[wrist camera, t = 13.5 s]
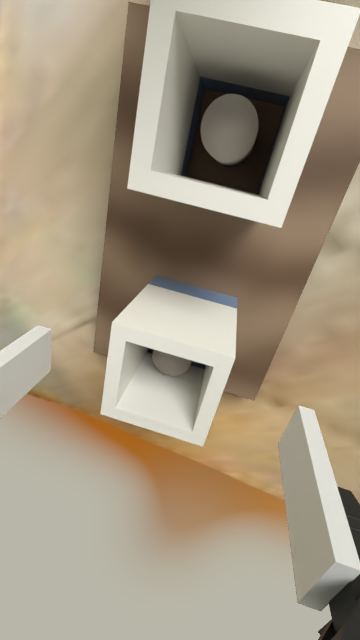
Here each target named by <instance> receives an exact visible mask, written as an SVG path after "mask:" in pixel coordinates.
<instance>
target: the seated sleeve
mask: <svg viewBox="0 0 360 640" xmlns="http://www.w3.org/2000/svg"><path fill="white" fill-rule="evenodd" d="M359 15H360V8H356V7H351V6H346V5H341V4H336V3H331V2H326V1H320V0H151V3H150V11H149V18H148V26H147V34H146V42H145V50H144V58H143V66H142V74H141V82H140V90H139V98H138V106H137V114H136V122H135V130H134V138H133V146H132V154H131V162H130V170H129V178H128V186H127V189H131V190H135V191H139V192H143V193H147V194H151V195H154V196H158V197H162V198H166V199H170V200H174V201H178V202H182V203H186V204H190V205H194V206H197V207H201V208H205V209H209V210H213V211H217V212H221V213H225V214H229V215H233V216H236V217H240V218H244V219H248V220H252V221H256V222H260V223H264V224H268V225H272V226H276V227H279V228H282V225H283V222H284V219H285V217H286V214H287V211H288V208H289V206H290V203H291V200H292V198H293V195H294V192H295V189H296V187H297V184H298V181H299V178H300V176H301V173H302V170H303V168H304V165H305V162H306V159H307V157H308V154H309V151H310V148H311V146H312V143H313V140H314V138H315V135H316V132H317V129H318V127H319V124H320V121H321V118H322V116H323V113H324V110H325V108H326V105H327V102H328V99H329V97H330V94H331V91H332V88H333V86H334V83H335V80H336V78H337V75H338V72H339V69H340V67H341V64H342V61H343V58H344V56H345V53H346V50H347V48H348V45H349V42H350V39H351V37H352V34H353V31H354V28H355V26H356V23H357V20H358V18H359ZM205 89H209V90H214V91H218V92H223V93H227V94H239V95H242V96H244V97H245V98H249V99H254V100H258V101H263V102H267V103H272V104H276V105H281V106H284V109H283V112H282V116H281V119H280V122H279V125H278V128H277V132H276V135H275V138H274V141H273V144H272V148H271V151H270V154H269V157H268V160H267V164H266V167H265V170H264V173H263V176H262V179H261V183H260V186H259V189H258V192H257V194H256V193H252V192H248V191H244V190H240V189H236V188H232V187H228V186H224V185H220V184H216V183H212V182H208V181H204V180H200V179H196V178H192V177H188V176H187V173H188V168H189V163H190V159H191V154H192V149H193V144H194V139H195V134H196V130H197V125H198V120H199V115H200V110H201V105H202V101H203V96H204V91H205Z"/></svg>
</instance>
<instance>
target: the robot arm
mask: <svg viewBox="0 0 360 640" xmlns="http://www.w3.org/2000/svg"><path fill="white" fill-rule="evenodd" d="M50 371H51V329H49V328H46V327H43V326H39V325H37V326H36V327H35V328H33V329H32V330H30V331H29V332H27V333H26V334H24V335H23V336H21V337H20V338H18V339H17V340H15V341H14V342H13V343H11V344H10V345H8V346H7V347H5V348H4V349H2V350H1V351H0V419H1V418H2V417H3V416H4V415H5V414H6V413H7V412H8V411H9V410H10V409H11V408H12V407H13V406H14V405H15V404H16V403H17V402H18V401H19V400H20V399H21V398H22V397H24V396H25V395H26V394H27V393H28V392H29V391H30V390H31V389H32V388H33V387H34V386H35V385H36V384H37V383H38V382H39V381H40V380H41V379H42V378H43V377H44V376H45V375H47V374H48V373H49V372H50ZM278 448H279V456H280V464H281V472H282V481H283V489H284V497H285V505H286V513H287V521H288V529H289V537H290V546H291V554H292V561H293V570H294V578H295V586H296V594H297V602H298V603H299V604H302V605H305V606H308V607H310V608H313V609H316V610H318V611H322V610H323V609H324V608H325V607H326V606H327V605H328V604H329V606H330V611H331V616H332V620H330V621H329V622H328V623H327V624H326V625H325V626H324V627H323V628H322V629H320V630H319V631H318V633H320V635H321V636H320V637H319V639H318V640H360V504H359V503H358V501H357V500H356V498H355V497H354V495H353V494H352V492H351V491H349V490H346V489H343V488H340V487H337V484H336V481H335V478H334V474H333V471H332V468H331V464H330V461H329V458H328V454H327V451H326V448H325V444H324V441H323V438H322V434H321V431H320V428H319V424H318V421H317V418H316V414H315V411H314V410H312V409H309V408H306V407H302V406H299V405H298V407H297V409H296V411H295V413H294V415H293V417H292V418H291V420H290V422H289V424H288V426H287V428H286V429H285V431H284V433H283V435H282V437H281V439H280V441H279V442H278Z"/></svg>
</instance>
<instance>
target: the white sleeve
mask: <svg viewBox="0 0 360 640" xmlns="http://www.w3.org/2000/svg"><path fill="white" fill-rule="evenodd" d="M237 299H238V298H236V297H233V296H229V295H225V294H222V293H218V292H214V291H211V290H207V289H203V288H200V287H196V286H193V285H189V284H185V283H182V282H178V281H174V280H171V279H167V278H163V277H160V276H155V277H154V278H153V279H152V280H151V281H150V282H149V284H148V285H147V286H146V287H145V288H144V289H143V290H142V291H141V292H140V293H139V294H138V295H137V296H136V297H135V298H134V299H133V300H132V302H131V303H130V304H129V305H128V306H127V307H126V308H125V309H124V310H123V311H122V312H121V313H120V314H119V315H118V316H117V317H116V318H115V320H114V321H113V322H112V326H111V334H110V342H109V350H108V358H107V366H106V374H105V382H104V390H103V398H102V406H101V415H105V416H108V417H111V418H114V419H117V420H120V421H123V422H127V423H130V424H133V425H136V426H139V427H142V428H146V429H149V430H152V431H155V432H158V433H161V434H164V435H168V436H171V437H174V438H177V439H180V440H183V441H187V442H190V443H193V444H196V445H199V446H202V447H203V445H204V442H205V440H206V437H207V434H208V432H209V429H210V426H211V423H212V421H213V418H214V415H215V412H216V410H217V407H218V404H219V402H220V399H221V396H222V393H223V391H224V388H225V385H226V382H227V380H228V377H229V374H230V372H231V369H232V366H233V363H234V361H235V355H236V327H237ZM154 350H158V351H161V352H164V353H168V354H171V355H175V356H178V357H181V358H185V359H188V360H192V361H191V365H190V367H189V369H188V370H187V371H186V372H185V373H183V374H181V375H177V376H171V375H167V374H164V373H162V372H161V371H160V370H158V369H157V368H156V366H155V365H154V363H153V359H152V354H153V351H154Z"/></svg>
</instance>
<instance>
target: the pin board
mask: <svg viewBox="0 0 360 640" xmlns="http://www.w3.org/2000/svg"><path fill="white" fill-rule="evenodd" d="M149 11H150V6H146V5H141V4H136V3H132V2H129V5H128V15H127V25H126V35H125V45H124V55H123V65H122V75H121V85H120V95H119V104H118V114H117V124H116V134H115V144H114V154H113V164H112V174H111V184H110V194H109V204H108V214H107V223H106V233H105V243H104V253H103V263H102V273H101V283H100V293H99V303H98V313H97V323H96V332H95V342H94V352H95V353H99V354H102V355H105V356H108V350H109V342H110V334H111V326H112V322H113V321H114V320H115V318H116V317H117V316H118V315H119V314H120V313H121V312H122V311H123V310H124V309H125V308H126V307H127V306H128V305H129V304H130V303H131V302H132V300H133V299H134V298H135V297H136V296H137V295H138V294H139V293H140V292H141V291H142V290H143V289H144V288H145V287H146V286H147V285H148V284H149V282H150V281H151V280H152V279H153V278H154V277H155V276H160V277H163V278H167V279H171V280H174V281H178V282H182V283H185V284H189V285H193V286H196V287H200V288H203V289H207V290H211V291H214V292H218V293H222V294H225V295H229V296H233V297H236V298H238V299H237V327H236V355H235V361H234V363H233V366H232V369H231V372H230V374H229V377H228V380H227V382H226V385H225V388H224V392H227V393H231V394H234V395H237V396H241V397H244V398H247V399H250V400H255V398H256V395H257V393H258V391H259V389H260V386H261V384H262V382H263V380H264V377H265V375H266V373H267V370H268V368H269V366H270V364H271V361H272V359H273V357H274V355H275V352H276V350H277V348H278V346H279V343H280V341H281V339H282V336H283V334H284V332H285V330H286V327H287V325H288V323H289V321H290V318H291V316H292V314H293V312H294V309H295V307H296V305H297V302H298V300H299V298H300V296H301V293H302V291H303V289H304V287H305V284H306V282H307V280H308V277H309V275H310V273H311V271H312V268H313V266H314V264H315V262H316V259H317V257H318V255H319V253H320V250H321V248H322V246H323V243H324V241H325V239H326V237H327V234H328V232H329V230H330V228H331V225H332V223H333V221H334V218H335V216H336V214H337V212H338V209H339V207H340V205H341V203H342V200H343V198H344V196H345V194H346V191H347V189H348V187H349V184H350V182H351V180H352V178H353V175H354V173H355V171H356V169H357V166H358V164H359V162H360V49H355V48H350V47H348V48H347V50H346V53H345V56H344V58H343V61H342V64H341V67H340V69H339V72H338V75H337V78H336V80H335V83H334V86H333V88H332V91H331V94H330V97H329V99H328V102H327V105H326V108H325V110H324V113H323V116H322V118H321V121H320V124H319V127H318V129H317V132H316V135H315V138H314V140H313V143H312V146H311V148H310V151H309V154H308V157H307V159H306V162H305V165H304V168H303V170H302V173H301V176H300V178H299V181H298V184H297V187H296V189H295V192H294V195H293V198H292V200H291V203H290V206H289V208H288V211H287V214H286V217H285V219H284V222H283V225H282V228H279V227H276V226H272V225H268V224H264V223H260V222H256V221H252V220H248V219H244V218H240V217H236V216H233V215H229V214H225V213H221V212H217V211H213V210H209V209H205V208H201V207H197V206H194V205H190V204H186V203H182V202H178V201H174V200H170V199H166V198H162V197H158V196H154V195H151V194H147V193H143V192H139V191H135V190H131V189H127V186H128V178H129V170H130V162H131V154H132V146H133V138H134V130H135V122H136V114H137V106H138V98H139V90H140V82H141V74H142V66H143V58H144V50H145V42H146V34H147V26H148V18H149ZM283 109H284V106H281V105H276V104H272V103H267V102H263V101H258V100H254V99H249V98H245V97H244V96H242V95H239V94H227V93H223V92H218V91H214V90H209V89H205V91H204V96H203V101H202V105H201V110H200V115H199V120H198V125H197V130H196V134H195V139H194V144H193V149H192V154H191V159H190V163H189V168H188V173H187V176H188V177H192V178H196V179H200V180H204V181H208V182H212V183H216V184H220V185H224V186H228V187H232V188H236V189H240V190H244V191H248V192H252V193H256V194H257V192H258V189H259V186H260V183H261V179H262V176H263V173H264V170H265V167H266V164H267V160H268V157H269V154H270V151H271V148H272V144H273V141H274V138H275V135H276V132H277V128H278V125H279V122H280V119H281V116H282V112H283ZM152 359H153V363H154V365H155V366H156V368H157V369H158V370H160V371H161V372H162V373H164V374H167V375H171V376H177V375H181V374H183V373H185V372H186V371H187V370H188V369H189V367H190V365H191V361H192V360H188V359H185V358H181V357H178V356H175V355H171V354H168V353H164V352H161V351H158V350H154V351H153V354H152Z"/></svg>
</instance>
